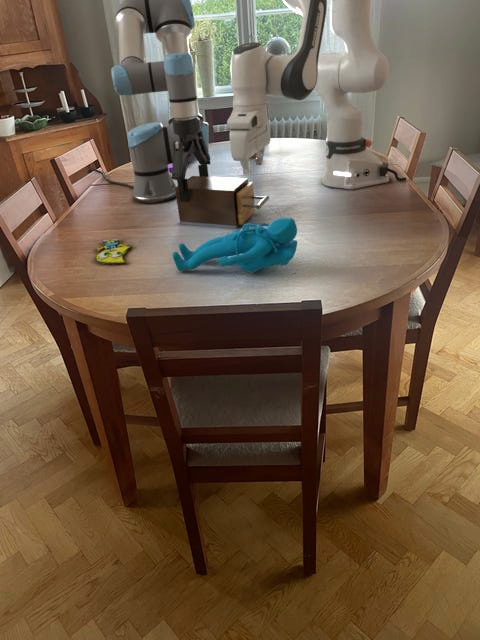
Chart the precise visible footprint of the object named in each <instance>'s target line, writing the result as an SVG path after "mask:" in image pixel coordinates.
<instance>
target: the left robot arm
mask: <svg viewBox="0 0 480 640" xmlns="http://www.w3.org/2000/svg"><path fill="white" fill-rule="evenodd" d="M114 15H115V16H114V27H115V31H116V33H117V34H118V57H119V58H118V59H119V60H118V61H119V64H118V65H113V66H112V67H111V70H110V73H111V79H112V80H111V81H112V85H113V88H114V92H115V94H116V95H117V96H133V95H134V96H135V95H143V94H144V95H145V94H152V93H163V92H167V94H168V101H169V109H170V114H171V116H170V117H169V119H168V121H167V122H168V123H167V124H168V126H163V124H162V123H161V122H160V121H159V122H158V121H155V122H149V123H144V124H141V125H138V126H135V127H134V128H132V129H130V130H129V131H128V133H127V141H128V144H127V145H128V149H129V153H130V158H131V163H132V164H131V165H132V168H133V173H134V181H133V185H132V184H129V183H126V182H120V181H114V180H111V179H109V178H108V177H107V176H106V175H105V172H104V171H102V170H99V169H96V168H89V169H88V170H87V174H90V173H91V172H95V173H98V174H101V176H102V178H103V179H104V180H105V181H106V182H107V183H109V184H111V185H112V184H113V185H117V186H122V187H127V188H130V189H133V191H132V197H133V200H134V201H135V202H137V203H139V204H157V203H163V202H166V201H170V200H172V199H175V198H176V192H175V187H177V186H178V189H179V196H180V202H190V198H189V191H188V184H187V179H188V178H186V173H187V170H188V164H189V163H191V162H194V163H196V162H197V163H198V164H199V165H197V167H198V176H206V177H210V175H209V167H208V165H211V156H210V153H209V151H210V150H209V149H210V148H209V147H210V145H209V144H210V143H209V141H210V140H209V139H210V137H209V135H210V133H209V123H208V122H206V121H204V117H203V115H202V114H200V111H199V103H198V95H197V87H196V86H197V85H196V76H195V65H194V61H193V56H192V53H190V46H189V39H190V38H191V36H192V31H193V30H194V29H195V27H196V24H195V16H194V13H193V7H192V2H191V0H122V2H121V3H120V5H119V6H118V7H117V10H116V12H115V14H114ZM145 34H155V38H156V39H157V41H159V42H160V43H161V48H162V54H163V60H160V61H159V60H158V61H148V62H147V56H146V46H145V45H146V44H145ZM172 164H173V165H172ZM169 165H172V171H171V173H170V171H169V169H168V166H169ZM175 180H176V183H177V185H176V183H175Z"/></svg>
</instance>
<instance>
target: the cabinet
mask: <svg viewBox="0 0 480 640" xmlns="http://www.w3.org/2000/svg"><path fill="white" fill-rule="evenodd" d="M186 179H187V184H188V191H189V198H190V202H180V196H179V189H178V185H176V187H175V192H176V196H175V199H176V206H177V210H178V216H179V217H178V219H179V224H180V225H190V226H199V227H200V226H201V227H213V228H214V227H215V228H225V229H227V228H228V229H237V228H238V227H239V226H240V225H241V224H239V219H237V213H236V202H235V193H236V192H237V191H238V190H239V189H240V188H241V187H242V186H243V188H244V187H245V186H246V185H247V184H248V183H249V178H248V177H232V176H231V177H228V176H227V177H226V176H209V177H206V176H199V175H191V176H190V177H189V178H186Z"/></svg>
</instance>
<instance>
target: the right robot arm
mask: <svg viewBox="0 0 480 640" xmlns="http://www.w3.org/2000/svg"><path fill="white" fill-rule="evenodd" d="M282 2H283V3H284V4H285V5H286V6H287V7H288V8H289V9H290V10H292V11H293V12H295V13H296V14H299V15H301V16H302V21H301V27H300V33H299V39H298V43H297V48H296V51H295V52H293V53H292V54H290V55H277V54H273V53H270V52H269V51H267V50H266V49H264V47H263V45H262V43H261V42H257V41H255V42H248V43H243V44H240V45H238V46H236V47H234V49H232V51H231V56H230V84H231V89H232V93H233V99H232V111H231V114H230V115H229V117H228V119H227V120H226V128H227V130H230V131H229V146H230V154H231V158H232V159H233V161H234V162H240V166H241V168H242V173H243V175H245V176H249V175H250V174H252V166H251V165H250V159H251V158H250V157H251V156H253V155H254V154H256V153H257V156H256V157H255V165H256V166H262V165H263V164H264V156H265V152H266V151H265V149H266V147H267V146H268V145H269V144H270V143H271V127H270V126H271V125H270V120H269V117H268V116H269V115H268V113H269V112H268V99H267V97H273V98H283V99H284V98H286V99H288V100H289V99H290V100H295V101H303V100H305V99H306V98H307V97H308V96H310V95H311V93H313V91H314V92H315V93H316V94H317V96H319V99H320V100H321V102H322V104H323V106H324V110H325V113H326V114H325V115H326V131H327V132H326V139H325V145H324V154H325V155H324V156H325V164H324V170H323V175H322V178H321V183H322V185H324V186H327V187H330V188H338V189H339V188H341V189H346V190H356V189H361V188H366V187H371V186H376V185H380V184H385V183H389V182H390V176H389V175H388V172H389V173H391V174H393V175H394V178H395V180H396V181H398V182H403V181H404V182H405V181H407V177H399V175H398V173H397V172H396V171H395V170H394V169H391V168H389V162H382V161H381V159H380V158H379V157H377V156H376V155H375V154H373V152H371V151H370V150H368V148H370V147H371V146H373V141H372V140H371V139H368V138H367V139H366V138H364V137H363V136H362V134H363V118H364V116H363V112H362V110H361V109H360V108H359V107H358V106H357V105H356V104H354V103H353V102H352V101H351V100H350V97H349V95H348V94H349V93H350V94H352V93H354V94H366V93H372V92H377V91H379V90H381V89H382V88H383V87H384V86H385V85H386V83H387V81H388V78H389V74H390V64H389V60H388V58H387V57H386V56H385V54H383V53H382V52H381V51H380V49H379V48H378V47H377V46H376V43H375V41H374V39H373V36H372V31H371V22H370V21H371V19H370V18H371V17H370V15H371V0H330V17H329V18H330V19H329V20H330V21H329V26H330V30H331V32H332V33H333V35H335V37H337V38H338V39H340V40H342V42H343V43H344V46H345V50H346V52H327V53H323V54H320V52H321V51H320V50H321V47H322V41H323V35H324V29H325V22H326V16H327V11H328V10H327V9H328V0H282Z"/></svg>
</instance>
